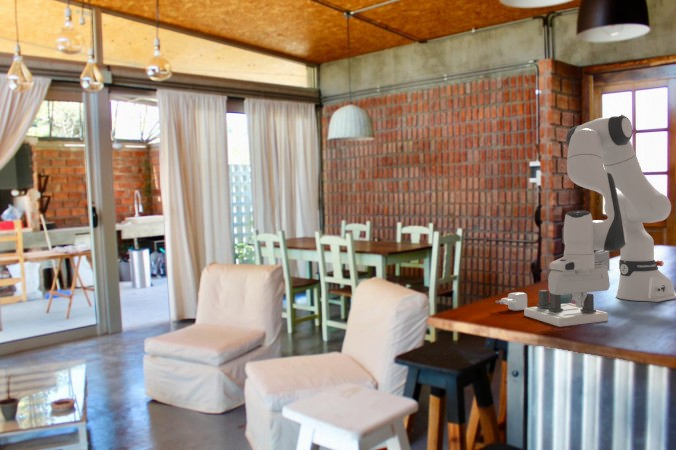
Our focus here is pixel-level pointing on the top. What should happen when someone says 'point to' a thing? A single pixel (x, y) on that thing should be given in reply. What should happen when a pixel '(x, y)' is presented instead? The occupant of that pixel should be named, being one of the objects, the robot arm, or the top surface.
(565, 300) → the flower pot
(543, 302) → the far handle
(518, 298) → the power adapter
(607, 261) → the cassette player
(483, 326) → the top surface
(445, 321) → the top surface
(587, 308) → the handle
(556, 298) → the middle handle
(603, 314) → the panel
